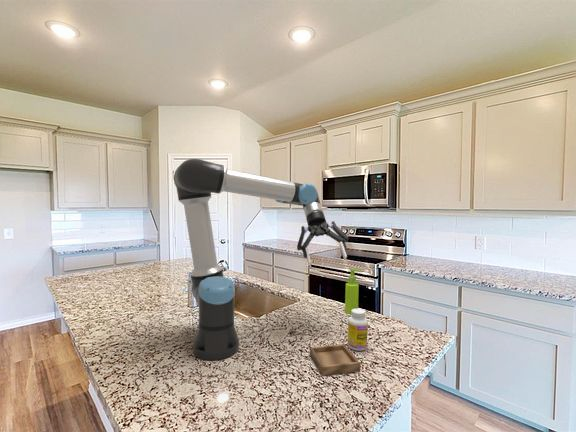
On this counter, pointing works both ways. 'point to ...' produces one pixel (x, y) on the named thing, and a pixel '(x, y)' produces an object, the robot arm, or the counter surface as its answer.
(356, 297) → the soap dispenser
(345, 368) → the walnut tray
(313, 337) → the counter surface
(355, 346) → the supplement bottle
